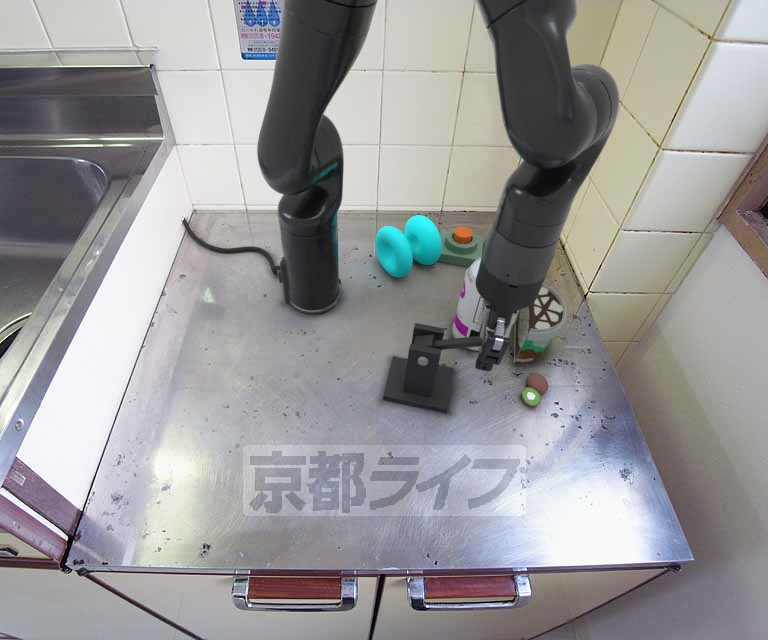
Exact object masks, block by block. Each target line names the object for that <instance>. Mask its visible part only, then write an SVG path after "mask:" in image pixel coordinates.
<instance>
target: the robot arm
mask: <svg viewBox="0 0 768 640" xmlns="http://www.w3.org/2000/svg"><path fill="white" fill-rule="evenodd" d="M378 1H379V0H283V6H282V7H283V9H282V16H281V17H282V18H281V27H280V31H279V32H280V33H279V39H278V44H277V45H278V46H277V50H276V51H277V52H276V57H275V64H274V69H273V76H272V83H271V87H270V91H269V96H268V101H267V105H266V108H265V111H264V116H263V120H262V123H261V127H260V130H259V135H258V139H257V146H256V147H257V149H256V154H257V155H256V156H257V162H258V167H259V170H260V173H261V176H262V177H263V179H264V180H265V182H266V184H267V185H268V186H269V187H270V188H271V189H272V190H273V191H274V192H275V193H278V194H281V195H282V196H281V197H280V199H279V201H278V205H277V218H278V225H279V232H280V233H279V234H280V239H281V248H282V255H283V256H282V258H281V259H280V262H279V265H275V263H274V260H273V258H272V256H271V255H270V253H269V252H268V251H266V249H264V248H261V247H258V246H238V247H232V248H231V247H230V248H229V247H228V248H225V247H218V246H215V245H212V244H210V243H207V242H206V241H204V240H202V239H201V238H199V237H198V236H197V235H196V234H195V233H194V232H193V230H192V228H191V227H190V225H189V223H188V221H187V219H186V218H185V217H184V220H183V222H182V224H183V226H184V228H185V230H186V231H187V233H188V235H189V236H190V237H191V238H192V239H193V240H194V241H196V242H197V243H199V244H200V245H201V246H203V247H204V248H206V249H209V250H212V251H214V252H220V253H238V252H247V251H249V252H250V251H252V252H258V253H261V254H263V255H264V256H265V258H266V259H267V261H268V263H269V266H270V269H271V272H272V273H273V274H274V275H276V274H278V275H277V276H278V280H279V284H282V290H283V295H284V296H283V297H284V302H285V304H289V305H290V306H292V308H293V309H295V310H296V311H298V312H300V313H304V314H305V315H306V314H307V315H318V314H323V313H326V312H329V311H330V310H332V309H333V308H334V307H336V305H337V304H339V301H340V299H341V291H340V286H342V280H341V278H340V268H339V264H340V261H339V227H338V225H339V224H338V213H339V210H340V208H341V206H342V202H343V191H344V189H343V188H344V170H345V169H344V168H345V167H344V165H345V164H344V163H345V158H344V147H343V142H342V138H341V136H340V133H339V131H338V129H337V127H336V125H335V124H334V122H333V120H332V119H330V118H329V117H328V116H327V115H326V114H325V112H326V110H327V108H328V106H329V105H330V103H331V101H332V100H333V98H334V96H335V95H336V94H337V92H338V90H339V89H340V87H341V86H342V84H343V83H344V81H345V79H346V78H347V76H348V74H349V73H350V71H351V70H352V68H353V66H354V65H355V62H356V61H357V60H358V57H359V56H360V54H361V52H362V49H364V46H365V43H366V39H367V37H368V34H369V31H370V28H371V25H372V22H373V18H374V15H375V10H376V8H377V5H378ZM475 2H476V5H477V8H478V11H479V13H480V16H481V19H482V21H483V25H484V27H485V29H486V32H487V35H488V37H489V40H490V42H491V44H492V48H493V53H494V54H493V56H494V69H495V77H496V85H497V92H498V99H499V106H500V113H501V118H502V124H503V128H504V131H505V133H506V137H507V138H508V141H509V143H510V145H511V146H512V148H513V150H514V151H515V152H516V154H517V156H519V157H520V159H522V161H521V162H520V164H519V165H518V166H517V167H516V169H515V170H513V172H511V174H510V175H509V176H508V178H507V179H506V181H505V183H504V185H503V188H502V190H501V194H500V197H499V201H498V205H497V208H496V212H495V216H494V219H493V221H492V225H491V227H490V229H489V231H488V233H487V237H486V239H485V242H484V243H485V244H484V246H483V250H482V258H481V262H480V266H479V269H478V273H477V277H476V288H477V291H478V293H479V294H480V296H481V297H482V298H483V299H484V302H483V309H482V311H483V313H482V315H483V320H482V323H481V326H480V330H479V335H478V336H480V337H481V339H482V343H481V347H479V352H478V355H477V358H476V360H475V369H476V370H479V371H483V372H492V370H493V368H494V365H495V366H500V364H501V363H502V361H503V359H504V357H505V355H506V353H507V351H508V349H509V347H510V346H511V338H510V334H511V331H512V326H513V325H515V321H516V318H517V315H518V311H519V310H520V309H523V308H526V307H528V306H530V305H531V304H533V303H534V302H535V300H536V299H537V297H538V294H539V292H540V289H541V287H542V285H543V284H544V281H545V280H546V278H547V274H548V272H549V270H550V268H551V265H552V262H553V260H554V258H555V255H556V251H557V247H558V244H559V243H558V242H559V240H560V237H561V234H562V232H563V230H564V228H565V224H566V222H567V220H568V218H569V215H570V212H571V208H572V205H573V203H574V200H575V198H576V196H577V194H578V192H580V191H579V190H580V189H581V187H582V185H583V184H584V182H585V180H586V179H587V178H588V176H589V174H590V172H591V171H592V169H593V168H594V166H595V164H596V162H597V160H598V159H599V157H600V155H601V153H602V152H603V150H604V147H605V146H606V144H607V142H608V140H609V139H610V136H611V134H612V131H613V130H614V126H615V124H616V121H617V118H618V114H619V109H620V91H619V88H618V84H617V83H616V80H615V78H614V77H613V75H612V74H611V73H610V72H609V71H608V70H606V68H604V67H602V66H600V65H597V64H594V63H593V64H592V63H581V64H576V65H572V64H571V59H570V53H569V45H568V41H567V40H568V39H567V36H568V35H567V34H568V32H569V31H570V29H571V28H572V26H573V25H574V23H575V21H576V19H577V14H578V5H577V0H475ZM487 327H488V328H489V329H491V330H494V332H493V331H488V330H486V328H487Z"/></svg>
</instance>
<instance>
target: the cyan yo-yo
mask: <svg viewBox="0 0 768 640" xmlns="http://www.w3.org/2000/svg"><path fill="white" fill-rule="evenodd" d="M440 234H441V233H440V232H439V229H438V228H437V226H436V225H435V223H434V222H433V221H432V220H431V219H430V218H429V217H427V216H425V215H422V214H417V215H413V216H412V217H410V218H408V220H407V221H406V223H405V225H404V231H403V232H402V231H401V230H400V229H399V228H397V227H395V226H391V225H385V226H382V227H381V228H380V229H379V230H378V231H377V233H376V236H375V240H374V241H375V242H374V243H375V244H374V245H375V252H376V255H377V258H378V260H379V263H380V265H381V266H382V268H383V269H384V271H386V273H388V274H389V275H391V276H392V277H395V278H403V277H405V276H407V275H408V274H409V273H410V271H411V269H412V268H413V267H412V266H413V262H414V260H415V262H417V263H419V264H420V265H424V266H430V265H433V264H435V263H436V262H438V261H437V260H438V259H439V257H440V255H441V251H442V242H441V237H440Z"/></svg>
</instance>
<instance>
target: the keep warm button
mask: <svg viewBox="0 0 768 640" xmlns="http://www.w3.org/2000/svg"><path fill="white" fill-rule="evenodd" d="M455 228H456V229H455V231H454V236H453V239H454V241H456V242H457V243H460V244H468V243H470V241H471V237H472V231H473V230H472V229H470V228H469V227H466V226H457V227H455Z"/></svg>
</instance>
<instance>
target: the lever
mask: <svg viewBox="0 0 768 640" xmlns="http://www.w3.org/2000/svg"><path fill="white" fill-rule="evenodd" d="M486 330H488V331H493V332H494V330H491V329H489V328H488V327H487V328H486ZM481 343H482V339H481V337H480V336H473V337H463V338H454V337H453V338H446V339H444V338H443V340H436V339H435V336H434V334H432V335H423V336H416V337H415V341H414V344H416V345H421V346H426V347H431V348H436V349H441V351H444V350H455V349H456V350H457V349H468V347H478V346H481Z"/></svg>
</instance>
